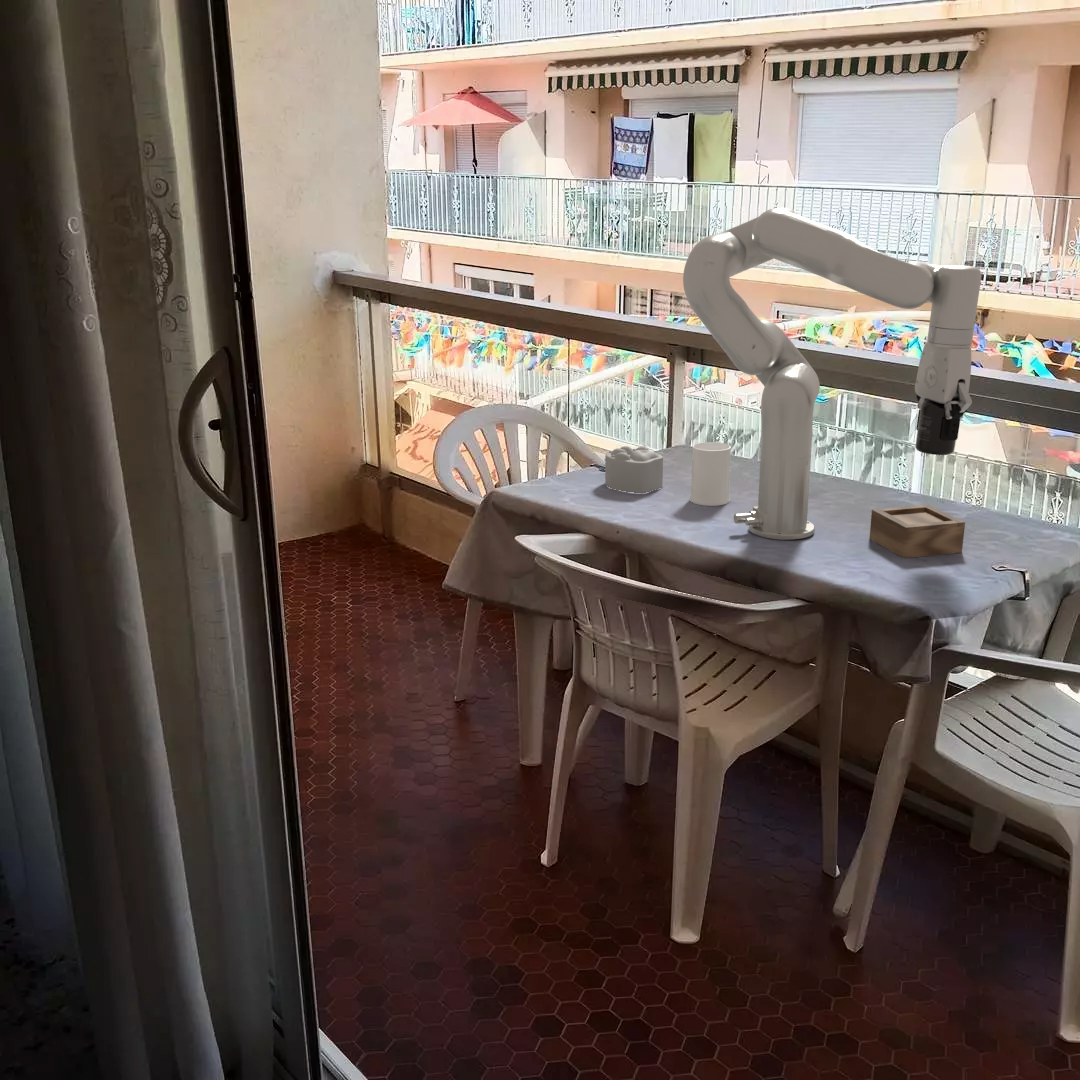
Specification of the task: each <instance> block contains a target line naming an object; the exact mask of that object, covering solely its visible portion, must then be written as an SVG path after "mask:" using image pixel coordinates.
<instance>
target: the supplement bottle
mask: <svg viewBox="0 0 1080 1080" xmlns="http://www.w3.org/2000/svg"><path fill="white" fill-rule="evenodd" d="M954 400H955V399H952V400H951V401H954ZM954 408H955V405H952V406H951V409H952V410H953V409H954ZM943 418H946V414H945V407H944V404H941V403H937V402H934V401H931V400H928V399H927V400H925V401H924V402H923V403H922V405H921V410H920V417H919V424H918V431H917V430H916V431H917V432H916V440H915V449H916V450H917V451H918V452H920V453H923V454H928V455H934V456H935V455H936V456H947V455H952V454H953V453H954V452H955V448H956V441H957V440H950V441H943V440H941V439H940V437H941V430H942V422H943Z"/></svg>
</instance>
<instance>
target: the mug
mask: <svg viewBox="0 0 1080 1080" xmlns="http://www.w3.org/2000/svg"><path fill="white" fill-rule="evenodd" d="M691 451H692V452H691V453H692V456H691V457H692V459H691V484H690V485H691V489H690V490H691V491H690V496H689V501H690V502H691V503H692V502H693V504H695V505H697V506H698V505H699V506H704V507H705V506H707V507H708V506H709V507H719V506H724V505H727V504H729V503H730V501H731V497H730V480H731V479H730V477H731V460H732V459H731V456H732V455H731V453H732V446H731V445H729V444H728V443H724V442H716V441H712V442H711V441H705V442H703V441H702V442H698V443H695V444H693V445H692V450H691Z"/></svg>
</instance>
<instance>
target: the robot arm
mask: <svg viewBox="0 0 1080 1080" xmlns="http://www.w3.org/2000/svg"><path fill="white" fill-rule="evenodd" d="M772 260H777V261H779V262H782V263H784V264H787V265H790V266H793V267H796V268H798V269H801V270H803V271H805V272H809V273H810V274H814V275H816V276H819V277H821V278H824V279H826V280H829V281H831V282H833V283H834V284H838V285H839V286H840V285H841V286H843V287H846V288H848V289H851V290H853V291H855V292H858V293H860V294H862V295H865V296H867V297H870V298H873V299H875V300H877V301H880V302H883V303H885V304H888V305H890V306H894V307H896V308H899V309H904V310H914V309H917V308H920V307H921V306H923V305H924V304H931V310H930V316H929V317H930V318H929V325H928V333H927V340H926V341H925V342H924V345H923V349H922V351H921V356H920V357H919V358H920V359H919V364H918V368H917V374H916V381H915V383H914V392H915V394H916V399H917V402H918V403H917V409H918V413H917V415H918V416H917V421H916V422H917V423H916V428H915V430H916V431H918V424H919V417H920V410H921V405H922V403H923V402H924V401H925V400H927V399H928V400H931V401H934V402H937V403H941V404H944V407H945V414H946V418H943V422H942V430H941V437H940V439H941V440H943V441H950V440H956V441H957V440H958V437H959V429H960V424H961V420H962V419H963V418H964V415H965V414H966V412H967V411H968V409H969V407H971V405H972V404H973V400H972V397H971V396H970V393H969V390H970V382H971V373H972V372H971V371H972V343H973V337H974V332H975V324H976V318H977V310H978V305H979V304H978V303H979V297H980V289H981V282H982V272H981V270H980V269H979V268H978V267H976V266H973V265H963V264H962V265H961V264H952V265H951V264H948V265H947V264H946V265H938V264H932V263H926V262H922V261H908V262H907V261H905V260H901V259H899V258H896V257H894V256H890V255H888V254H885V253H883V252H880V251H878V250H876V249H874V248H871V247H869V246H867V245H865V244H864V243H862V242H861V241H859V240H858V239H857V238H856V237H854V236H853V235H852V234H849V233H848V232H845V231H843V230H840V229H837V228H833V227H831V226H828V225H825V224H823V223H821V222H818V221H817V222H816V221H815V220H812V219H809V218H807V217H804V216H801V215H798V213H796V212H795V211H794V210H792V209H790V208H787V207H775V208H770V209H767V210H765V211H763V212H762V213H761V214H760V215H758V216H757V217H755V218H753V219H750V220H748V221H746V222H743V223H742V224H739V225H736V226H734V227H731V228H729V229H727V230H724V231H722V232H719V233H716V234H712V235H708V236H706V237H704V238H702V239H701V240H700V241H699V240H698V242H697V243H696V244H695V245H694V246H693V248H692V249H691V251H690V253H689V255H688V256H687V259H686V261H685V264H684V270H683V275H682V284H683V291H684V294H685V297H686V301H687V302H688V304H689V306H690V307H691V309H692V311H693V312H694V314H696V317H698V319H699V320H700V321H701V323H702V324H703V326H704V327H705V328H706V330H708V332H709V333H710V334H711V336H712V338H713V339H714V340H715V341H716V343H717V344H718V345H719V346H720V347H721V349H722V350H723V351H724V353H725V354H726V355H727V357H728V358H729V359H730V361H731V363H732V364H733V365H734V366H735V367H736V368H737V370H739V371H740V372H741V373H743V374H746V375H748V376H756V378H757V379H758V380H759V381H760V383H761V384H762V385H763V386H764V388H763V390H762V393H761V401H760V419H761V420H760V421H761V422H760V423H761V426H760V427H761V428H760V429H761V430H760V431H761V432H760V433H761V435H760V436H761V437H760V460H759V475H758V476H759V477H758V478H759V480H758V481H759V482H758V497H757V498H758V501H757V505H755V506H752V510H750V511H748V513H747V512H745V513H744V512H742V513H734V514H733V522H734V524H745V525H746V526H748V530H749V531H750V532H751V533H752V534H753V535H756V536H758V537H761V538H765V539H770V540H771V539H772V540H782V541H783V540H786V541H791V540H801V539H805V538H809V537H811V536H812V535H814V534H815V530H816V529H815V525H814V524H813V523H812V522H810V521H809V520H808V513H809V512H808V510H809V496H810V495H809V493H810V482H811V480H810V479H811V478H810V477H811V464H812V447H813V425H814V424H813V421H814V420H813V419H814V407H815V402H816V401H817V398H818V397H819V393H820V385H821V384H820V379H819V377H818V374H817V373H816V371H815V370H814V368H813V366H811V364H810V362H809V361H808V360H807V359H806V358H805V357H804V355H803V354H802V353H801V351H800V350H799V349H798V348H797V346H795V344H794V343H793V342H792V340H791V339H790V338H789V337H788V335H787V334H786V333H785V332H784V330H782V329H781V327H780V326H778V325H777V324H776V323H774V322H773V321H770V320H767V319H759V318H758V317H757V315H756V314H755V313H754V312H753V311H752V309H751V308H750V307H749V305H748V304H747V302H746V301H745V300H744V299H743V297H742V296H741V295H739V293H738V292H737V291H736V290H735V289H734V287H733V286H732V284H731V281H730V278H731V277H734V276H736V275H738V274H741V273H743V272H745V271H748V270H749V269H752V268H755V267H757V266H759V265H762V264H764V263H766V262H769V261H772ZM952 399H955V400H954V401H951V400H952ZM952 405H955V408H954V409H953V410H952V409H951V406H952Z"/></svg>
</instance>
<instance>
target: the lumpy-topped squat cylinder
mask: <svg viewBox="0 0 1080 1080" xmlns="http://www.w3.org/2000/svg"><path fill="white" fill-rule="evenodd" d="M604 459H605V461H604V462H605V464H604V467H605V471H604V472H605V474H604V475H605V476H604V477H605V480H604V481H605V482H604V485H605V484H606V485H607V486H608V487H610V488H612V489H616V490H621V491H626V492H634V493H646V492H650V491H652V490H655V489H659V488H662V489H663V484H664V481H663V479H664V476H663V475H664V456H663V455H661V454H659V453H656V452H655V451H653V450H650V449H649V448H648V447H647V446H645V445H641V446H638V447H636V448H632V447H630V446H628V445H624V446H621V447H620V448H618V447H617V448H614V449H613V450H609V451H608V452H606V453H605V458H604ZM608 487H607V488H608ZM659 490H660V489H659ZM655 491H656V490H655ZM652 492H653V491H652ZM650 493H651V492H650Z"/></svg>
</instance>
